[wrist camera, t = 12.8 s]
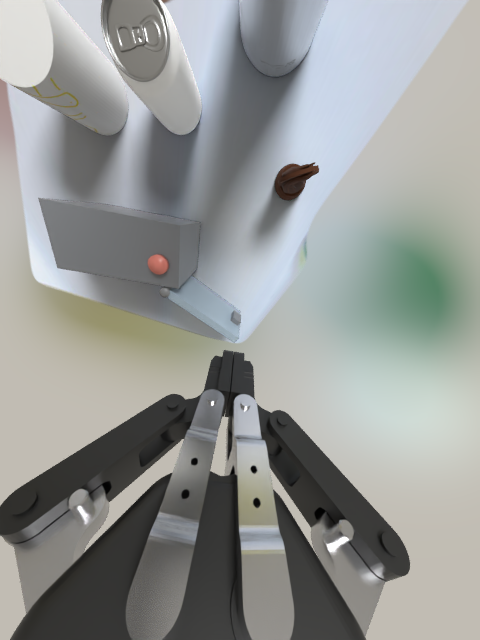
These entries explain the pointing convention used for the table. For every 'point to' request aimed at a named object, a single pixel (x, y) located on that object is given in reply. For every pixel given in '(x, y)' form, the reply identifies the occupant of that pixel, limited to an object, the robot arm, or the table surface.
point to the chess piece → (293, 180)
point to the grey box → (121, 242)
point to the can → (152, 60)
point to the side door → (206, 307)
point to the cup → (60, 65)
